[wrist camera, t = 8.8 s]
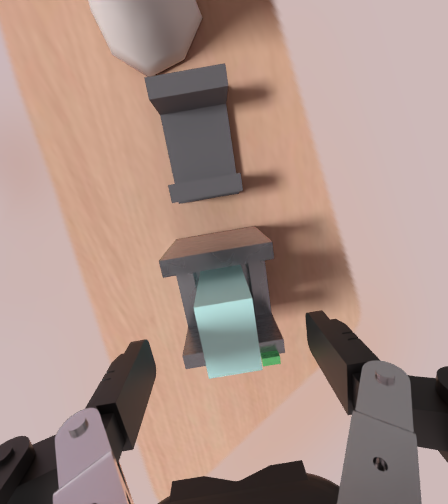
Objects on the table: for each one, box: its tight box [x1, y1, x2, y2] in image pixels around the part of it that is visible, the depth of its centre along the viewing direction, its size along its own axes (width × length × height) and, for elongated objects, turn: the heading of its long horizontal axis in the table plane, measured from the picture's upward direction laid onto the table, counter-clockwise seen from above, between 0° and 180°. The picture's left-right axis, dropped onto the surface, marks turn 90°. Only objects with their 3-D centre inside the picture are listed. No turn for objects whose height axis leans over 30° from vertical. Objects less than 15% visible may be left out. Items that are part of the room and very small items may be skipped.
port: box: [159, 226, 285, 369], centre depth 18 cm, size 8×7×7 cm
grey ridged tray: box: [145, 64, 243, 204], centre depth 17 cm, size 8×5×4 cm, turn 10°
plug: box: [194, 265, 263, 379], centre depth 16 cm, size 4×3×8 cm
